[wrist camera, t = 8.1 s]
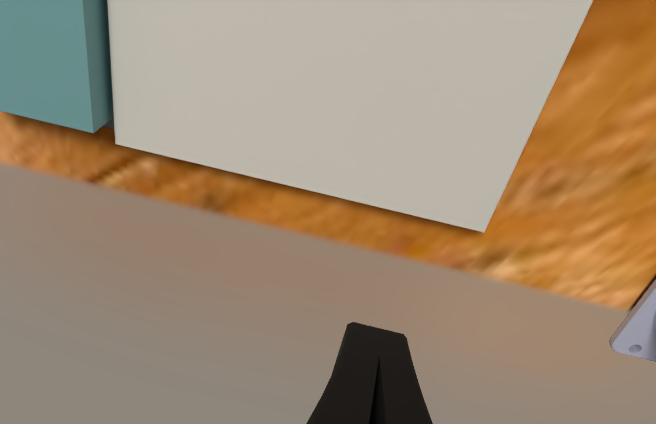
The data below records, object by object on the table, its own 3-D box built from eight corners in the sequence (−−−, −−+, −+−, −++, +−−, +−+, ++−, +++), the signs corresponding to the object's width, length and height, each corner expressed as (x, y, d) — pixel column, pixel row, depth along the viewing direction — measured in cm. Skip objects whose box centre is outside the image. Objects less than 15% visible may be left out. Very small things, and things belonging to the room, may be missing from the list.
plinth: (611, -99, 14) (638, -97, 12) (477, 203, 20) (484, 232, 18) (131, -213, 14) (94, -225, 12) (139, 122, 20) (115, 144, 18)
